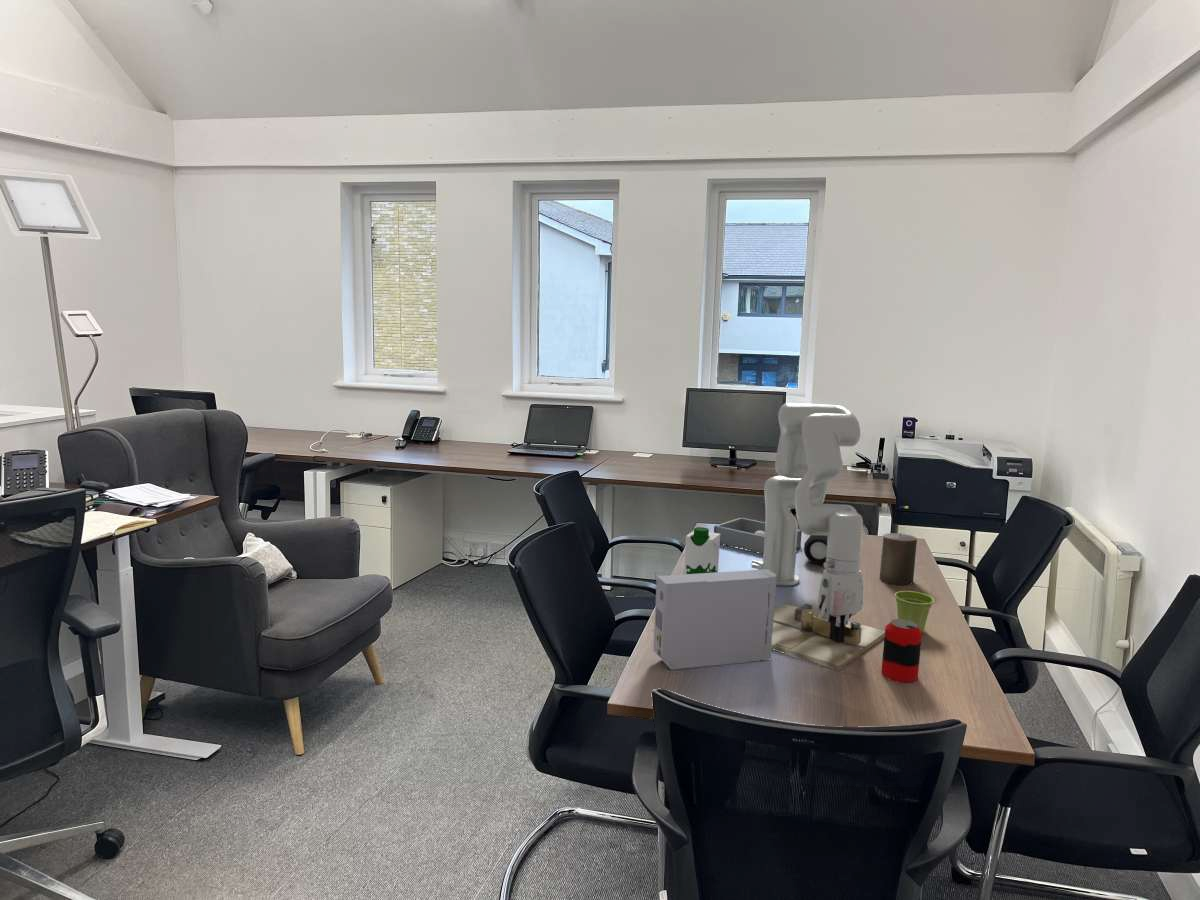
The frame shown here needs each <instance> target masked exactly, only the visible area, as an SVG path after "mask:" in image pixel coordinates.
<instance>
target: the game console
mask: <svg viewBox="0 0 1200 900" xmlns="http://www.w3.org/2000/svg"><path fill="white" fill-rule="evenodd" d="M776 576H777V575H776V574H774V573H773V572H771V571H770V570H768V569H762V570H758V569H751V570H749V569H747V570H736V571H735V570H733V571H718V572H716V573H700V574H671V575H656V582H655V584H656V587H655V609H654V628H653V629H654V634H653V652H654V653H655V654H656V655H657V656H658V657H659V658H660V659H661V661H662V662H663V663H664V664H665V665H666V666H667V667H668V669H670V670H672V671H673V670H681V669H682V670H683V669H692V668H702V667H712V666H722V665H732V664H741V663H742V662H744V663H751V661H754V662H761V661H760V660H764V661H770V660H771V659H772V651H773V650H772V634H773V620H774V609H775V604H776V601H775V600H776V593H777V591H776V590H777V589H776V587H777V585H776ZM769 659H770V660H769Z"/></svg>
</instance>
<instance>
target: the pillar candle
mask: <svg viewBox="0 0 1200 900" xmlns="http://www.w3.org/2000/svg"><path fill="white" fill-rule="evenodd" d="M882 536H883V537H882V538H883V539H882V549H881V555H880V556H881V557H880V570H879V571H880V572H879V579H880V581H882V582H884V583H887V584H890V585H895V584H897V585H898V586H909V585H908V584H911V583H912V584H913V583H914V577H915V566H916V556H917V555H916V554H917V543H918V538H917V537H916V536H915V535H914V536H913V535H911V534H906V533H902V532H899V533H898V532H896V533H895V532H890V533H883V534H882ZM912 584H911V585H912ZM897 585H896V586H897Z"/></svg>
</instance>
